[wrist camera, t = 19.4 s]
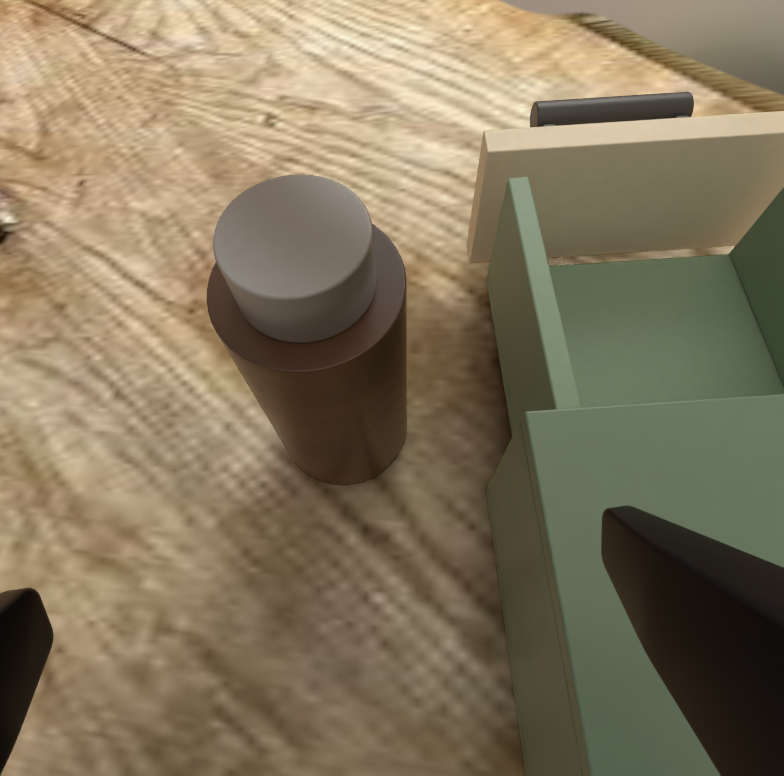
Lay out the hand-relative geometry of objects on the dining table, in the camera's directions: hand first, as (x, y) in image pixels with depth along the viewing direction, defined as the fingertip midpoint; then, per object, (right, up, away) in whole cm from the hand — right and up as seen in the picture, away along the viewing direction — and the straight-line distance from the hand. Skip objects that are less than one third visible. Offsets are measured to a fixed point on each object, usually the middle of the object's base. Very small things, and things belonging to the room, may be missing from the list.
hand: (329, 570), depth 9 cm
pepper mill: (-1, +1, +16) cm, 16 cm away
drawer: (+12, +6, +17) cm, 21 cm away
